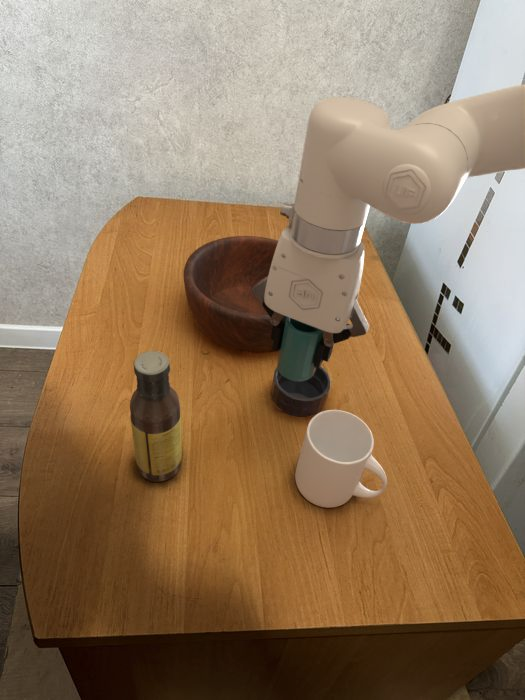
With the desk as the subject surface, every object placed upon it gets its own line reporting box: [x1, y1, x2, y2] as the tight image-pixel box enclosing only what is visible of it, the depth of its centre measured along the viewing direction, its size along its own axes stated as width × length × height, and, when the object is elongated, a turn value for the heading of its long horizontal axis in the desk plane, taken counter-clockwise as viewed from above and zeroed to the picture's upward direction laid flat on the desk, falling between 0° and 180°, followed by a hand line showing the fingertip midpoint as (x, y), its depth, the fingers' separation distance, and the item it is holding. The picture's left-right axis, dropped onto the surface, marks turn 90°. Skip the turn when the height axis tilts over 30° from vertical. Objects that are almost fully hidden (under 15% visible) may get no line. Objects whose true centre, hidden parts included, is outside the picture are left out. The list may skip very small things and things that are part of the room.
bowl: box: [269, 365, 332, 419], centre depth 84 cm, size 9×9×4 cm
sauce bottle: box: [129, 350, 183, 483], centre depth 67 cm, size 6×6×20 cm
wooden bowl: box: [183, 235, 279, 354], centre depth 95 cm, size 25×25×10 cm
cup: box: [276, 316, 323, 381], centre depth 67 cm, size 5×5×8 cm
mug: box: [294, 409, 388, 508], centre depth 70 cm, size 9×12×11 cm
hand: (299, 352), depth 68 cm, fingers closed on cup, 5 cm apart
